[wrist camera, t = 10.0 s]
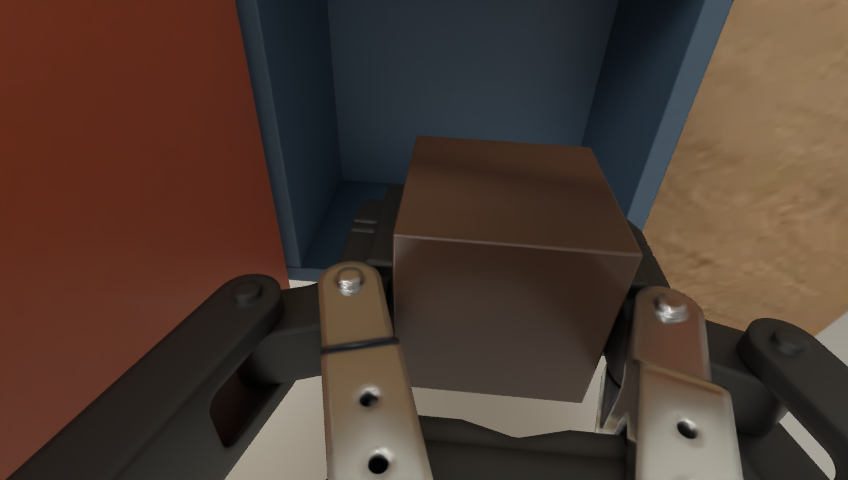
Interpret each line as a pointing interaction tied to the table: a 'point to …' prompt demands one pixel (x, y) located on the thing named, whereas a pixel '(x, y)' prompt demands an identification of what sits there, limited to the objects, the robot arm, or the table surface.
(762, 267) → the table surface
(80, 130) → the lid
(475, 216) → the walnut block
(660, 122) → the sorter box
